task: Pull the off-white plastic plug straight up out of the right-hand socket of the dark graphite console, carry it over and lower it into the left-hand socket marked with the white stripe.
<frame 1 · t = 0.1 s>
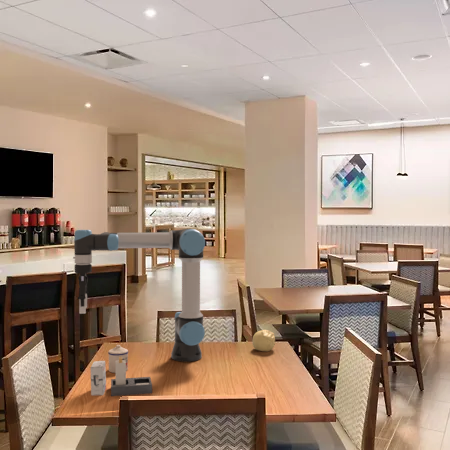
hand: (83, 310, 239), 28 cm above the table, fingers open, 13 cm apart
plug: (120, 391, 213), resting on console
pale yellow rounded lump: (263, 350, 278), on the table
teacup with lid: (119, 369, 244), on the table
console: (131, 391, 214), on the table
ink box: (98, 393, 213), on the table
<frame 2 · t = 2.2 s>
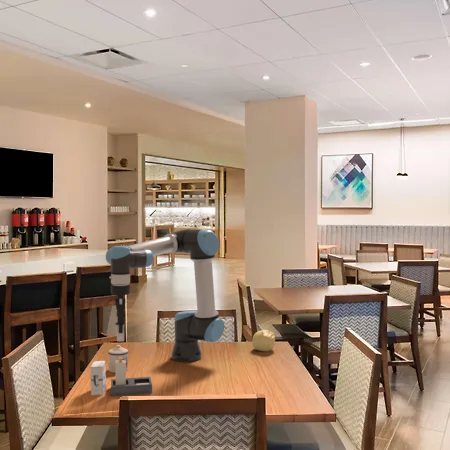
hand: (120, 337, 213), 23 cm above the table, fingers open, 13 cm apart
nothing on the table moved.
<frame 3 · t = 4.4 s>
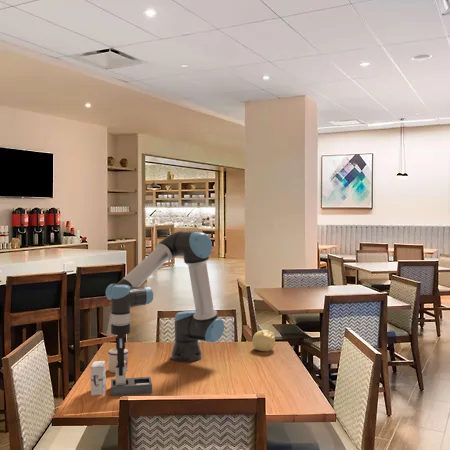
hand: (120, 380, 213), 5 cm above the table, fingers closed on plug, 4 cm apart
plug: (120, 391, 213), point 1 cm above the table, touching console, gripper
everything else where it was.
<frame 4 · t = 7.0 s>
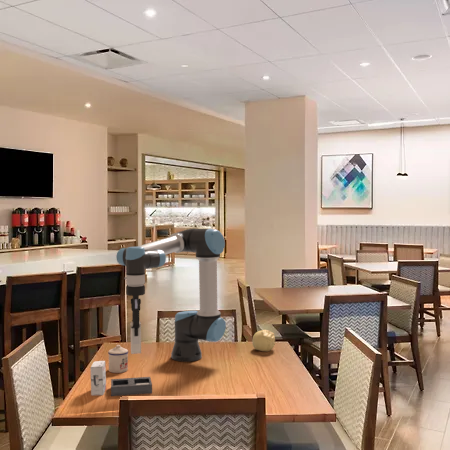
hand: (136, 342, 214), 20 cm above the table, fingers closed on plug, 4 cm apart
plug: (136, 352, 215), point 16 cm above the table, touching gripper
everything else where it was.
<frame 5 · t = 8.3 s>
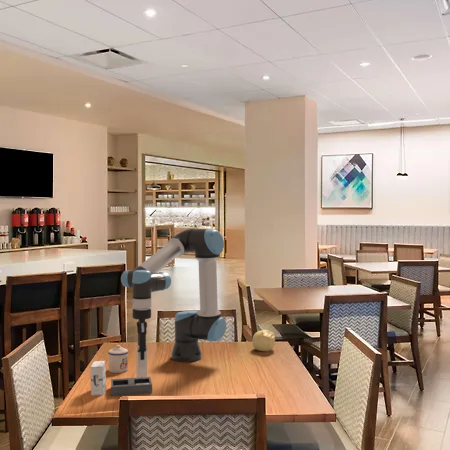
hand: (141, 365, 215), 10 cm above the table, fingers closed on plug, 4 cm apart
plug: (141, 375, 215), point 6 cm above the table, touching gripper
everything else where it was.
when the fingers open (6 cm above the table, at t = 9.5 s): plug stays where it is, resting on console.
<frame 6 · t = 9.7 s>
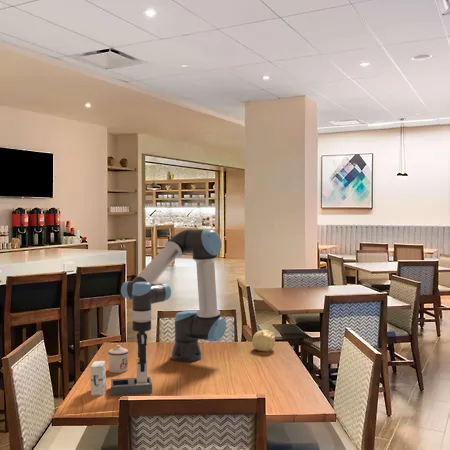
hand: (141, 376, 215), 6 cm above the table, fingers open, 6 cm apart
plug: (141, 389, 215), point 1 cm above the table, touching console
everything else where it was.
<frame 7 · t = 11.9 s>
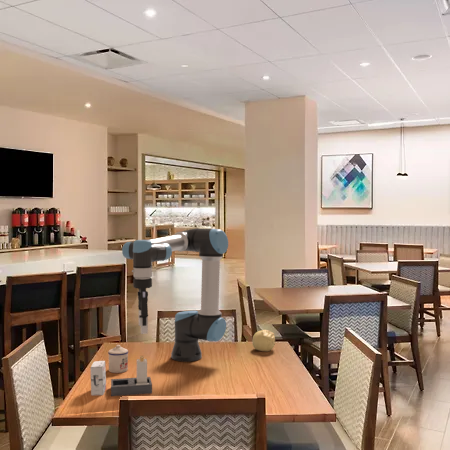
hand: (143, 329, 216), 25 cm above the table, fingers open, 13 cm apart
nothing on the table moved.
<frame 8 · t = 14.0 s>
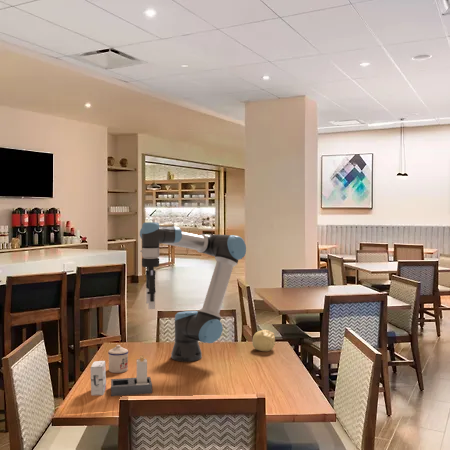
hand: (150, 306, 231), 32 cm above the table, fingers open, 13 cm apart
nothing on the table moved.
at the end: plug 0.1 cm from the target spot on the console, point 0.5 cm above the console's base; plug tilted 0°; the gripper is holding nothing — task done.
